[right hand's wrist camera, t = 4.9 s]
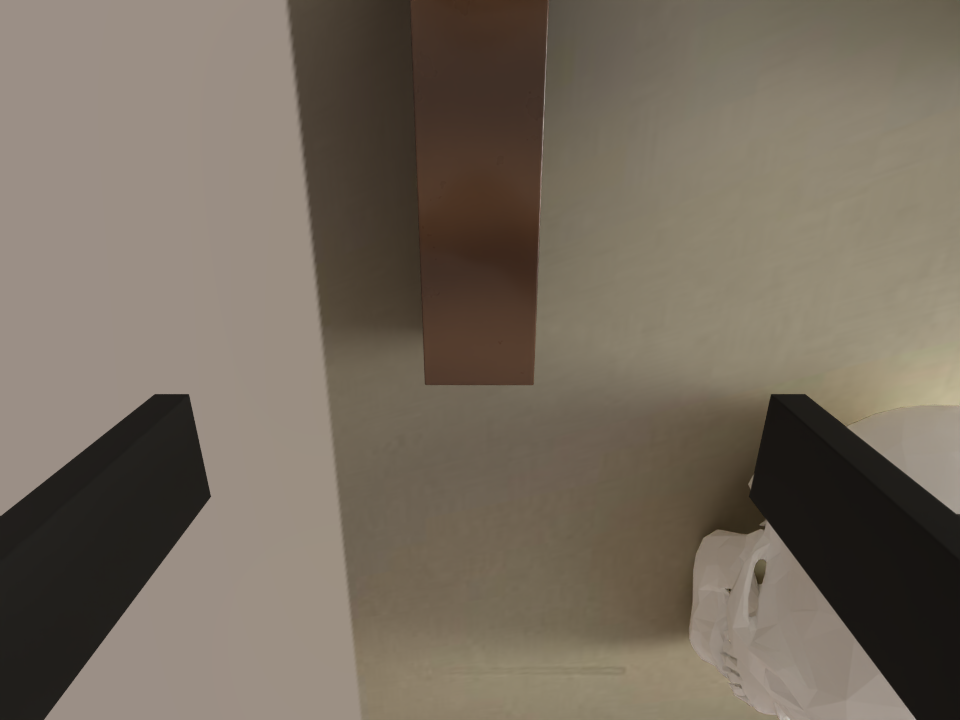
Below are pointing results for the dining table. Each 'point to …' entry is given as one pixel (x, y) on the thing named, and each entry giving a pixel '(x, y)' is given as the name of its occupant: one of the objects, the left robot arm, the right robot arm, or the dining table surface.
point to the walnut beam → (479, 184)
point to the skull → (810, 595)
